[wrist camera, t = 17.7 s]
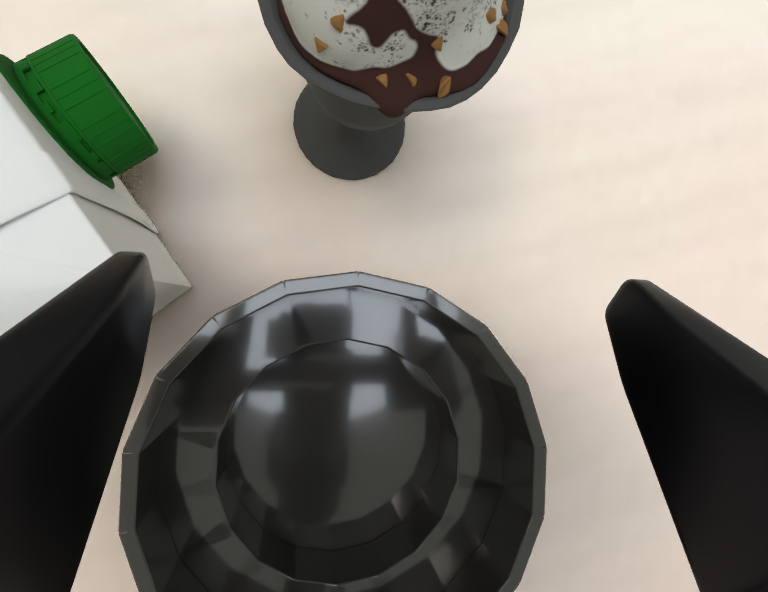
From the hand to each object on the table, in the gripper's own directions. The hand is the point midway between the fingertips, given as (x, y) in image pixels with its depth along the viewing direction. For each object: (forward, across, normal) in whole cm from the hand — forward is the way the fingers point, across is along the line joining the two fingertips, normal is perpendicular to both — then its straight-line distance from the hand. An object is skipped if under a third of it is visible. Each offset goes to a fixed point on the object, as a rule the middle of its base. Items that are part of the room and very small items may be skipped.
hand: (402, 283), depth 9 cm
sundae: (+14, 0, +4) cm, 15 cm away
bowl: (+4, 0, +13) cm, 14 cm away
